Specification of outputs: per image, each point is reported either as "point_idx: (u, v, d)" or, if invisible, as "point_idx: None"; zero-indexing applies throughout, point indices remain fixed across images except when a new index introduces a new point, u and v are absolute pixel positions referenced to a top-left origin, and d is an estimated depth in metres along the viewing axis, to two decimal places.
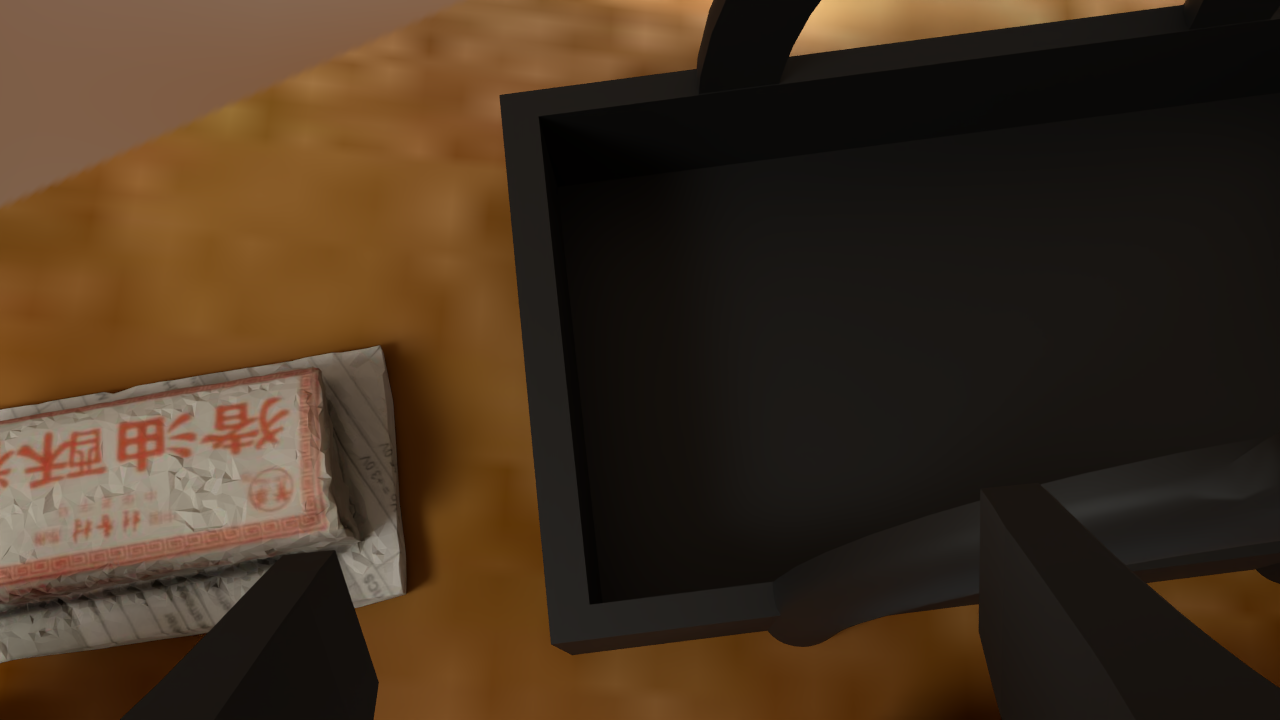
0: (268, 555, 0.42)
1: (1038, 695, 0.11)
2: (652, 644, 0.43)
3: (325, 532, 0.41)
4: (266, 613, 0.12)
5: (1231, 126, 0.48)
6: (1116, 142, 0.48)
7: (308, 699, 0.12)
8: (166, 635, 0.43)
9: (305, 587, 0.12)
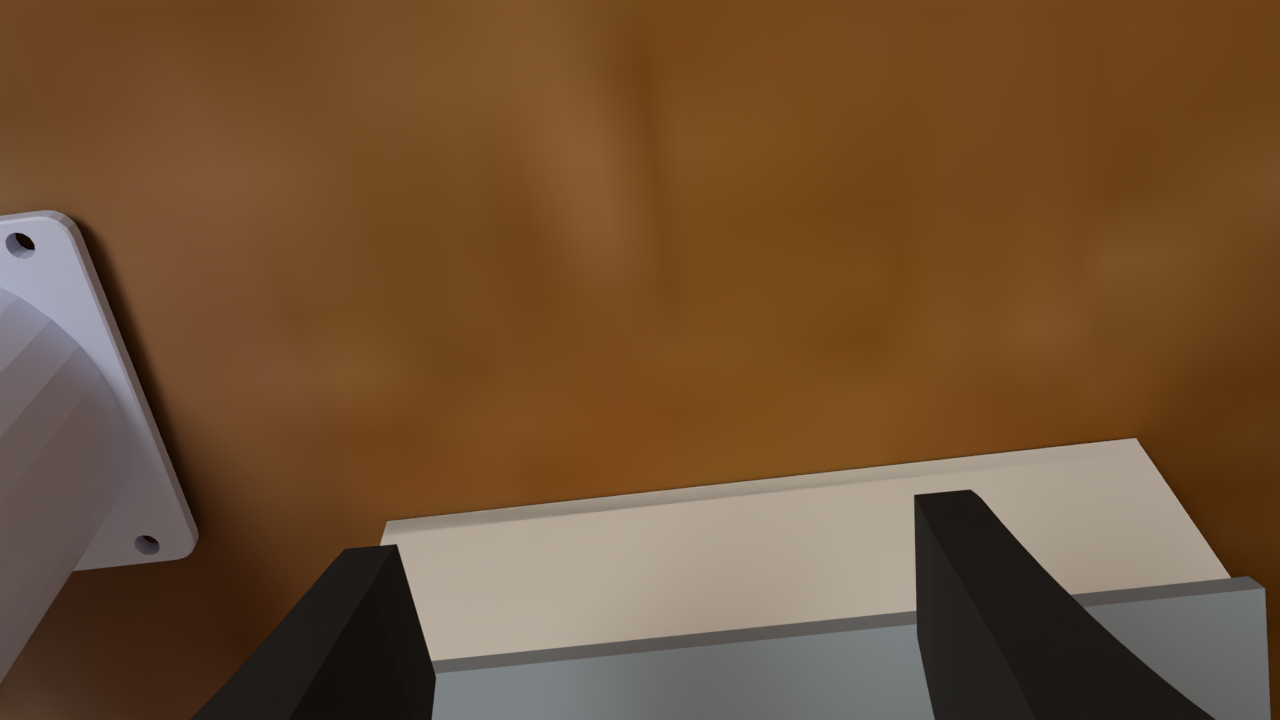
0: None
1: (963, 700, 0.11)
2: None
3: None
4: (334, 607, 0.12)
5: None
6: None
7: (375, 693, 0.12)
8: None
9: (370, 581, 0.12)
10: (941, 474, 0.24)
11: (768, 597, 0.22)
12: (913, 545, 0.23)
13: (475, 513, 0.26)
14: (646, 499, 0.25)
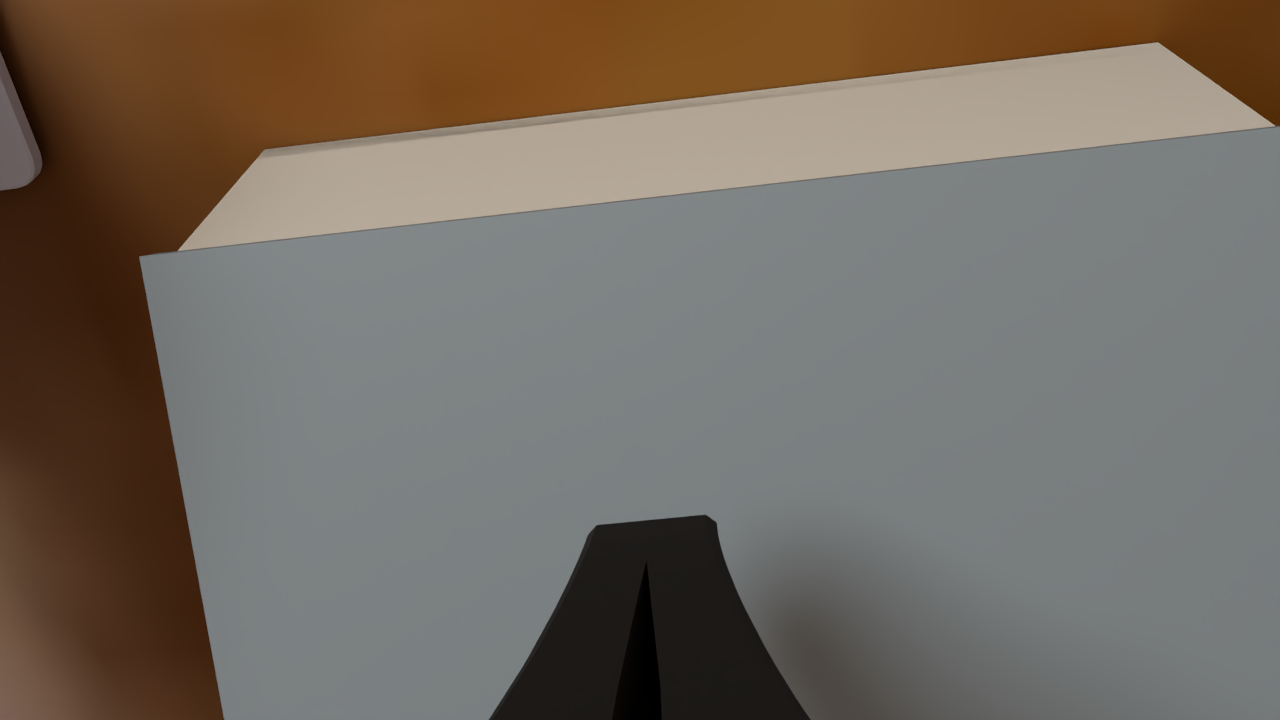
0: None
1: None
2: None
3: None
4: (617, 581, 0.11)
5: None
6: None
7: (651, 670, 0.12)
8: None
9: (642, 556, 0.12)
10: (921, 80, 0.20)
11: (699, 172, 0.18)
12: (881, 127, 0.18)
13: (368, 140, 0.22)
14: (568, 117, 0.21)
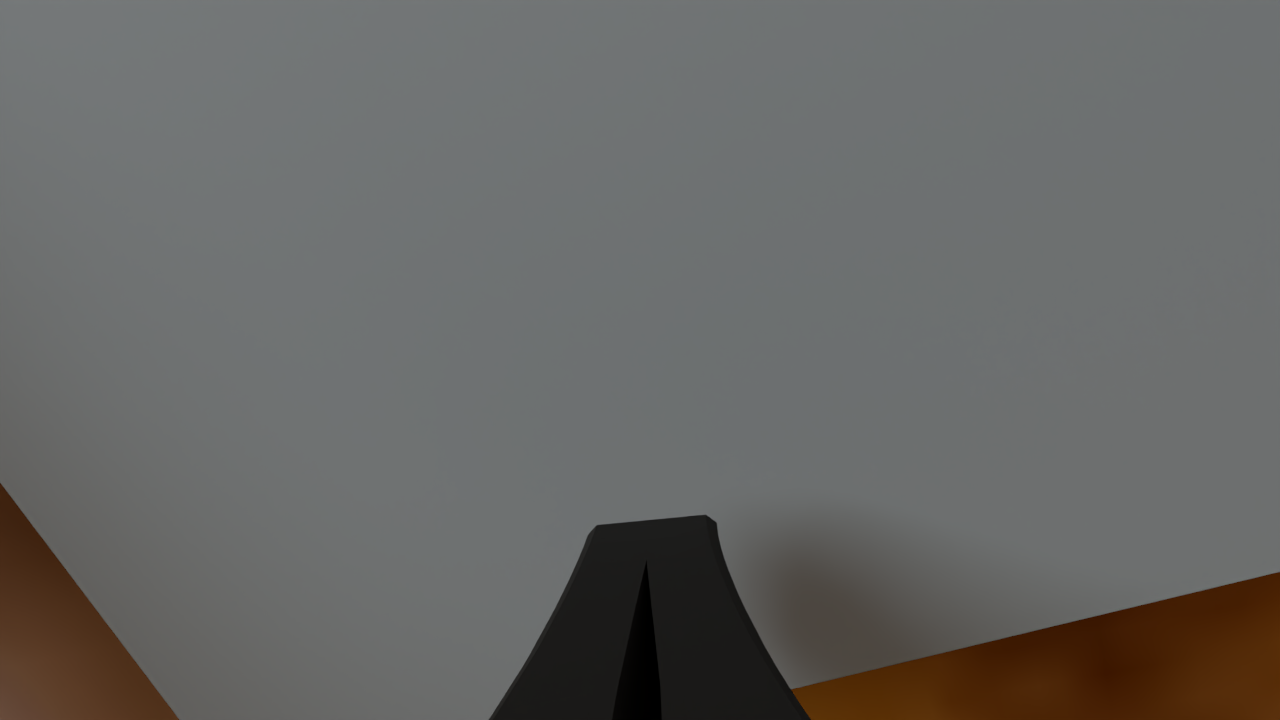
0: None
1: None
2: None
3: None
4: (617, 581, 0.11)
5: None
6: None
7: (652, 670, 0.12)
8: None
9: (642, 556, 0.12)
10: None
11: None
12: None
13: None
14: None
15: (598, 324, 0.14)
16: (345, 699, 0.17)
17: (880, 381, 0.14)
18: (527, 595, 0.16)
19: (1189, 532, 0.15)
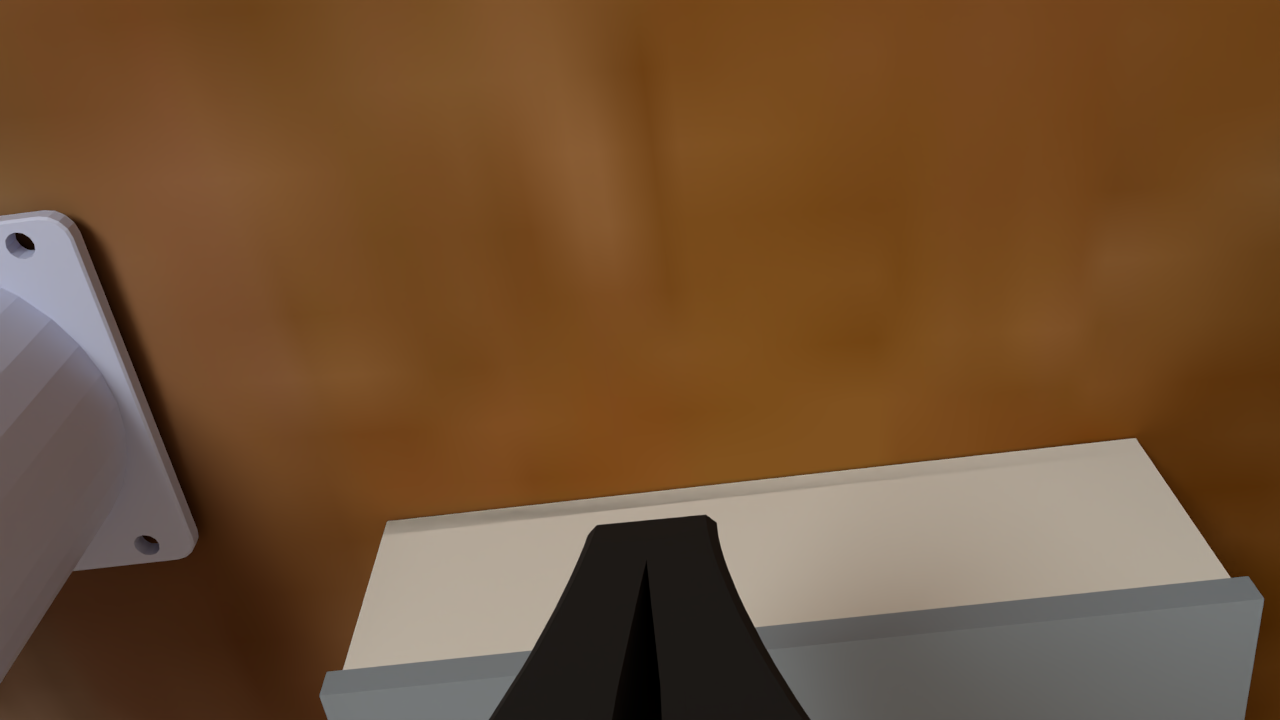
0: None
1: None
2: None
3: None
4: (617, 581, 0.11)
5: None
6: None
7: (652, 670, 0.12)
8: None
9: (642, 556, 0.12)
10: (941, 474, 0.24)
11: (768, 597, 0.22)
12: (913, 545, 0.23)
13: (475, 513, 0.26)
14: (646, 499, 0.25)
15: None
16: None
17: None
18: None
19: None
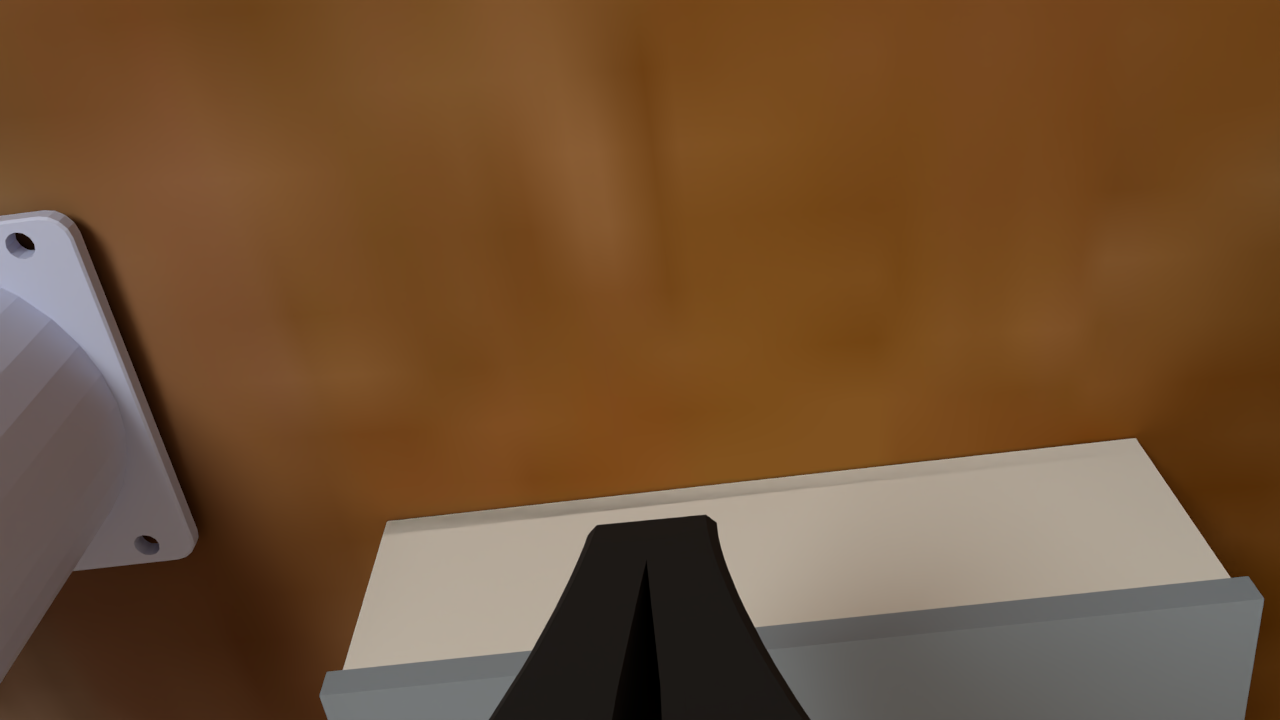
0: None
1: None
2: None
3: None
4: (617, 581, 0.11)
5: None
6: None
7: (652, 670, 0.12)
8: None
9: (642, 556, 0.12)
10: (941, 474, 0.24)
11: (768, 597, 0.22)
12: (913, 545, 0.23)
13: (475, 513, 0.26)
14: (646, 499, 0.25)
15: None
16: None
17: None
18: None
19: None
